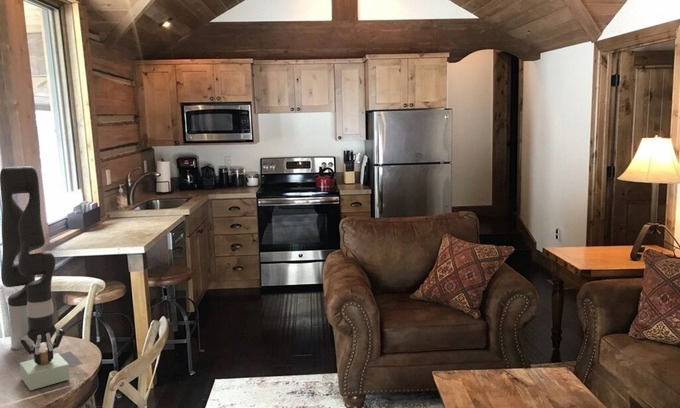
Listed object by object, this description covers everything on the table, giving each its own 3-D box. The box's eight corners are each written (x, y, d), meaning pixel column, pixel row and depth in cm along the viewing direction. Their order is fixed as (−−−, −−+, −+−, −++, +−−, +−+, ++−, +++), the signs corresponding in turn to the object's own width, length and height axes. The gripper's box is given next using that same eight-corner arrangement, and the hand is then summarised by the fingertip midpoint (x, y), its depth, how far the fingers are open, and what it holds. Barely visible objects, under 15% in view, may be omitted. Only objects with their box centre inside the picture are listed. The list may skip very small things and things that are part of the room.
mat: (28, 362, 197) (28, 361, 197) (70, 352, 206) (70, 351, 206) (39, 376, 186) (39, 375, 186) (82, 364, 196) (82, 363, 196)
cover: (20, 377, 183) (18, 351, 182) (58, 367, 191) (57, 342, 190) (30, 390, 175) (28, 362, 173) (69, 379, 183) (67, 352, 181)
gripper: (60, 305, 187) (63, 353, 190) (13, 314, 178) (17, 364, 180) (66, 311, 182) (69, 360, 184) (19, 320, 172) (23, 372, 175)
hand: (43, 362), depth 182 cm, fingers closed on cover, 2 cm apart
